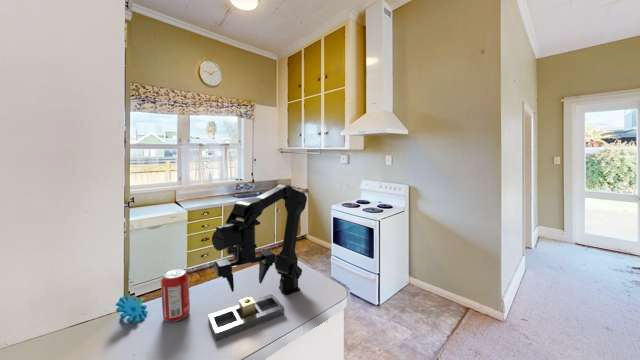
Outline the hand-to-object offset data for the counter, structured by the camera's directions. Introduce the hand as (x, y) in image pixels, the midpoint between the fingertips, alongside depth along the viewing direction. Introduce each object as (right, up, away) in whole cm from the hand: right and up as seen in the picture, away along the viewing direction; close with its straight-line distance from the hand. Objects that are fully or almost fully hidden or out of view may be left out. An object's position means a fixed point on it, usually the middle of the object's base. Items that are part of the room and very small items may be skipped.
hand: (246, 286), depth 83 cm
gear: (-37, -11, 0) cm, 39 cm away
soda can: (-24, -11, +2) cm, 26 cm away
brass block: (0, -11, +1) cm, 11 cm away
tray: (0, -11, +1) cm, 11 cm away
